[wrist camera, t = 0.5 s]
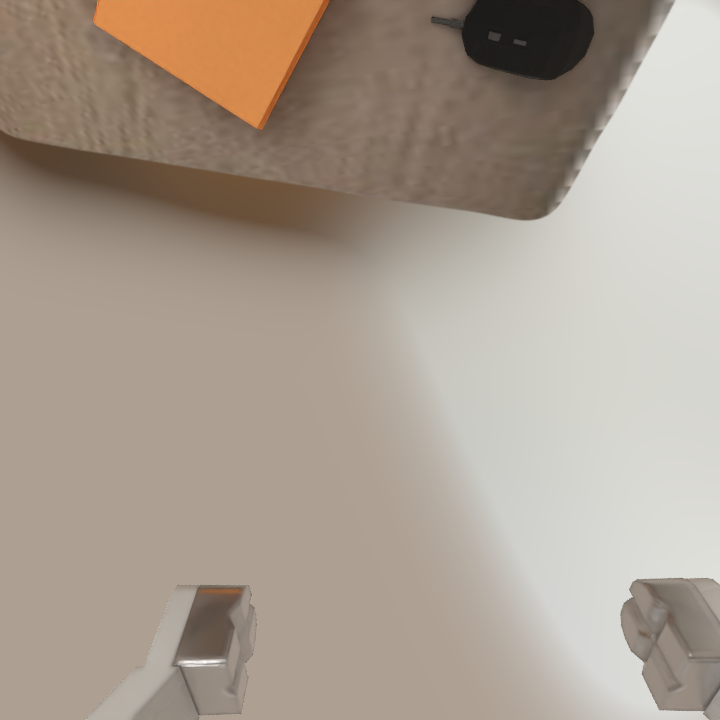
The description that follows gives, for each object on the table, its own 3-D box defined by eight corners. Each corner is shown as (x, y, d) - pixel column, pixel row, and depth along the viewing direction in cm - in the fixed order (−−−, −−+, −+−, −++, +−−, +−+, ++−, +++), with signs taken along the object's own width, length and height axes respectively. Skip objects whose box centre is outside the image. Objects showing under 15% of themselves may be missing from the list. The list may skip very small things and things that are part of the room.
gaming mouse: (439, -25, 41) (445, -16, 38) (602, 1, 42) (619, 11, 40) (423, 58, 46) (427, 72, 43) (570, 79, 47) (583, 93, 44)
